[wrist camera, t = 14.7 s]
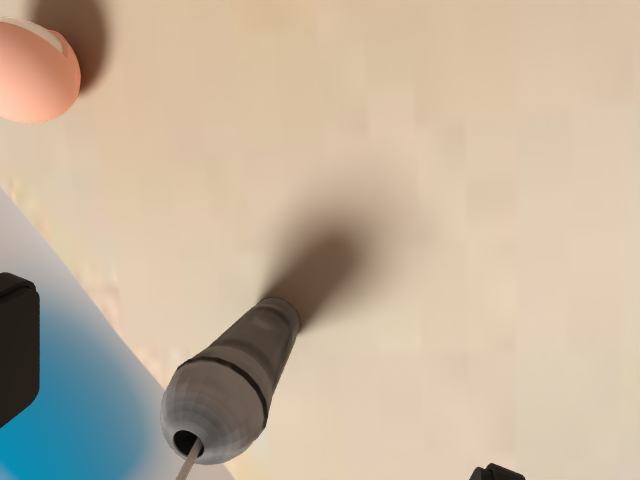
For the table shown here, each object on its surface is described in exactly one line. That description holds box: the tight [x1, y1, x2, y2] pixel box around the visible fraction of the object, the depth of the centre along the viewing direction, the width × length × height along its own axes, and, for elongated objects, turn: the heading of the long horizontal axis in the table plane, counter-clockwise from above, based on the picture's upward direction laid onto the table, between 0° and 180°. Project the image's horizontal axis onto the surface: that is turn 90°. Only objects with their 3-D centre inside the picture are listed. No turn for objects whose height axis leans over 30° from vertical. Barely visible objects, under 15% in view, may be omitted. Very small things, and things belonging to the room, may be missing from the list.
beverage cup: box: [160, 298, 300, 480], centre depth 34 cm, size 7×7×20 cm
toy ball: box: [0, 17, 81, 123], centre depth 36 cm, size 8×8×8 cm
